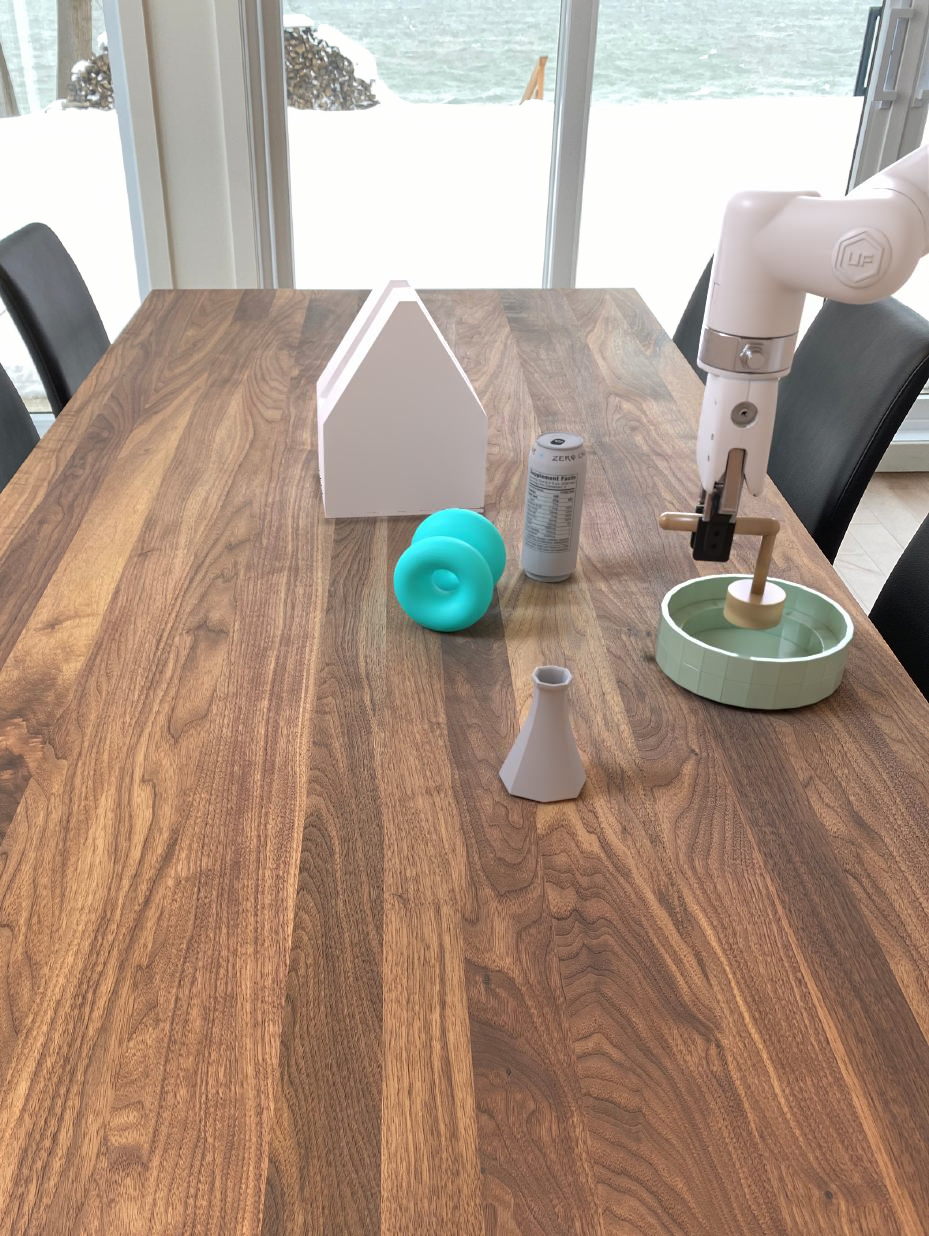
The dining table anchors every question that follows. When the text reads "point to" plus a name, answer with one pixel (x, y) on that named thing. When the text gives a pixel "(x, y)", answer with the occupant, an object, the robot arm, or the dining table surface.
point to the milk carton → (398, 415)
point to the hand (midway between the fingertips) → (708, 553)
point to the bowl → (753, 646)
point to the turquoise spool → (450, 570)
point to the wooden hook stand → (750, 597)
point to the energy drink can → (553, 506)
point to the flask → (546, 744)
